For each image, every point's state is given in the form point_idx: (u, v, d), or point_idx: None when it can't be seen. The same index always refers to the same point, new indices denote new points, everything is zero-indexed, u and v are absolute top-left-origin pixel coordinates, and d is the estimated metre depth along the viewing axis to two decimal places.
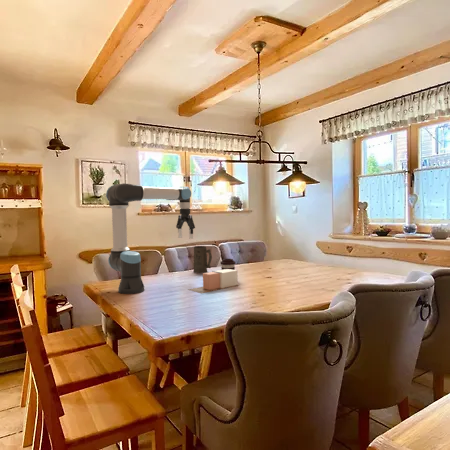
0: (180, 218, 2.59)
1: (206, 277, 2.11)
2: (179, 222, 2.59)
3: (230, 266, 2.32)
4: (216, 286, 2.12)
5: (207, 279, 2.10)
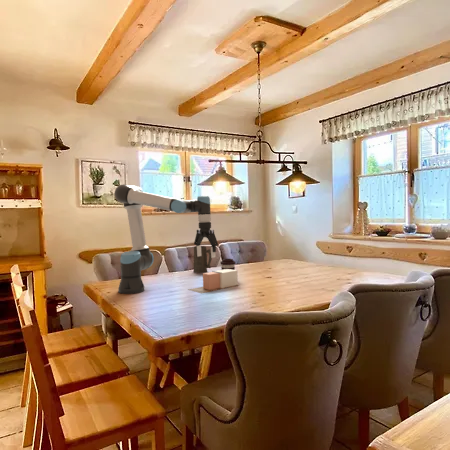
0: None
1: (206, 277, 2.11)
2: (198, 238, 2.19)
3: (230, 266, 2.32)
4: (216, 286, 2.12)
5: (207, 279, 2.10)
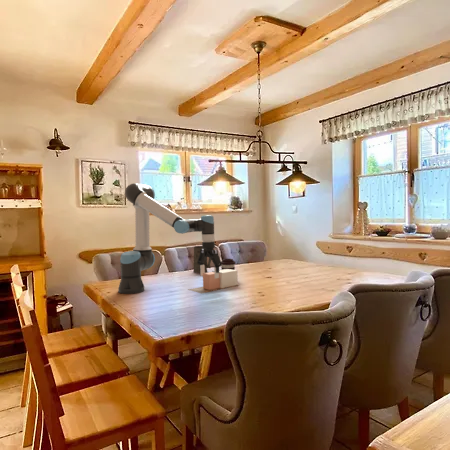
0: None
1: (206, 277, 2.11)
2: (201, 257, 2.17)
3: (230, 266, 2.32)
4: (216, 286, 2.12)
5: (207, 279, 2.10)
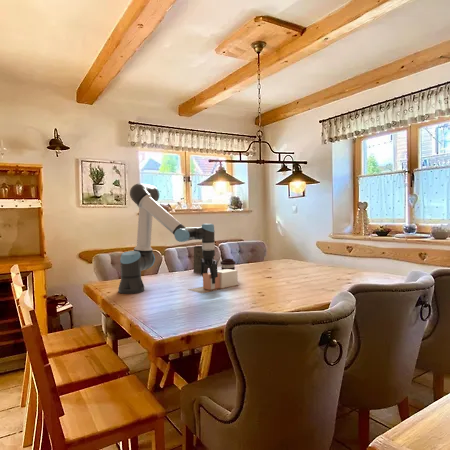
0: (203, 262, 2.16)
1: (206, 277, 2.11)
2: (203, 267, 2.16)
3: (230, 266, 2.32)
4: (216, 286, 2.12)
5: (207, 279, 2.10)
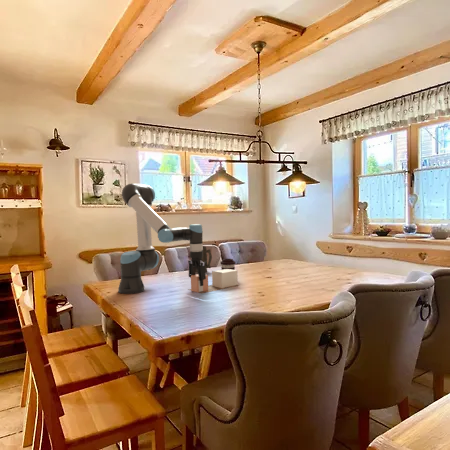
0: (191, 264, 2.11)
1: (194, 279, 2.05)
2: (191, 269, 2.10)
3: (230, 266, 2.32)
4: (204, 289, 2.06)
5: (195, 282, 2.04)
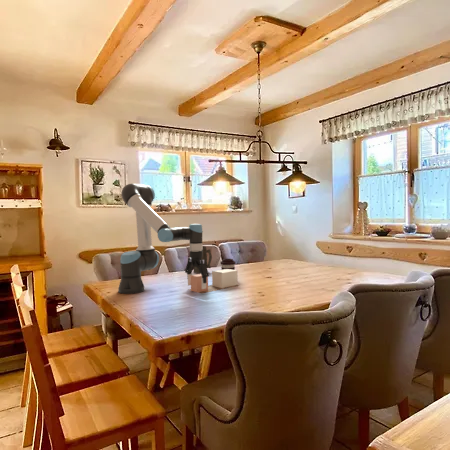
0: None
1: (193, 280, 2.05)
2: (189, 266, 2.12)
3: (230, 266, 2.32)
4: (204, 289, 2.06)
5: (195, 282, 2.04)
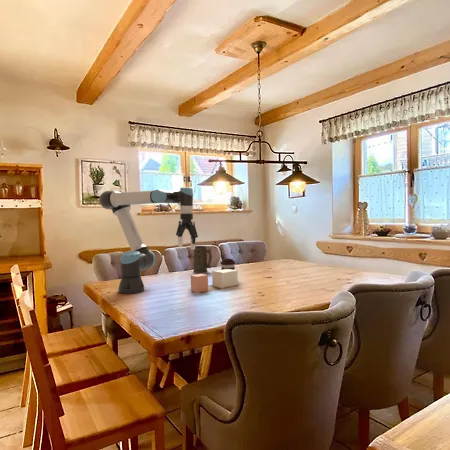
0: None
1: (193, 280, 2.05)
2: None
3: (230, 266, 2.32)
4: (204, 289, 2.06)
5: (195, 282, 2.04)
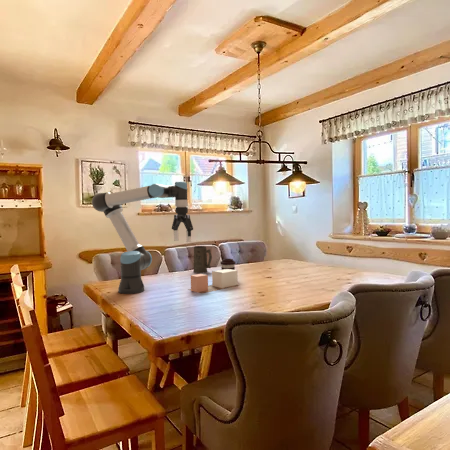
0: (176, 218, 2.24)
1: (193, 280, 2.05)
2: (175, 223, 2.25)
3: (230, 266, 2.32)
4: (204, 289, 2.06)
5: (195, 282, 2.04)
